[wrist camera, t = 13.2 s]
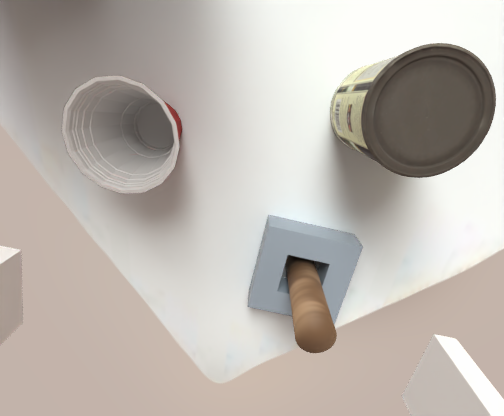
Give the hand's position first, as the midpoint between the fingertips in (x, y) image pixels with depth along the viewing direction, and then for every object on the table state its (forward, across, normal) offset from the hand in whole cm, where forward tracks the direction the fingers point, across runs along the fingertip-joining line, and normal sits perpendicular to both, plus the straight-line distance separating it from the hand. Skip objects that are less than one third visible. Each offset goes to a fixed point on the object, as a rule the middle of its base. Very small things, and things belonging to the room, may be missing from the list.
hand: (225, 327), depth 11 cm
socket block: (+32, +10, -14) cm, 37 cm away
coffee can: (+33, +13, +8) cm, 36 cm away
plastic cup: (+33, -12, 0) cm, 35 cm away
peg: (+32, +10, -14) cm, 37 cm away
